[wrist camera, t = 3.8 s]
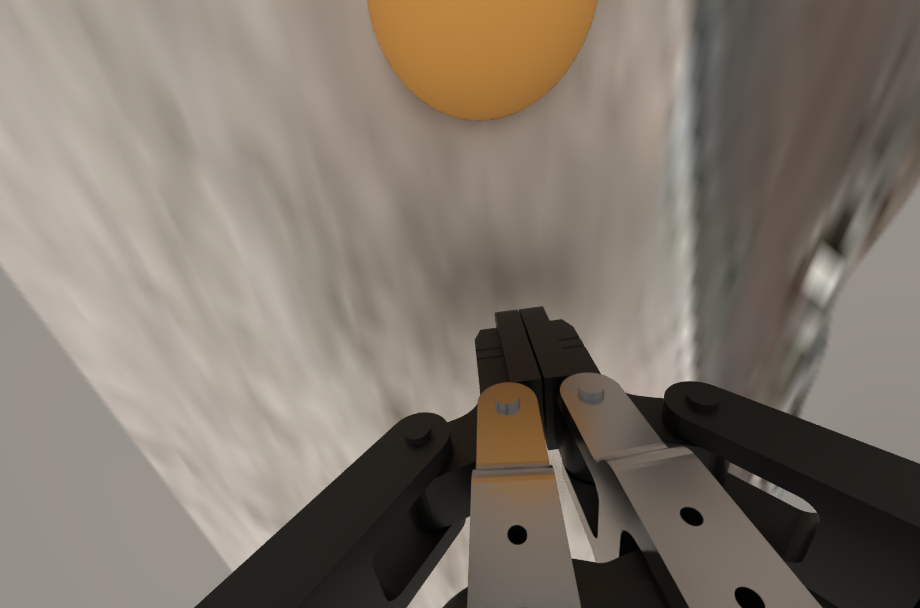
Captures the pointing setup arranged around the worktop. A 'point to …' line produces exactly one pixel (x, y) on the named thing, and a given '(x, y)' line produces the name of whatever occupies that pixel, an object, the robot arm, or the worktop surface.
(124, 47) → the worktop surface
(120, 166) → the worktop surface
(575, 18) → the ball
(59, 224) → the worktop surface
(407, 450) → the robot arm
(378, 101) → the worktop surface
